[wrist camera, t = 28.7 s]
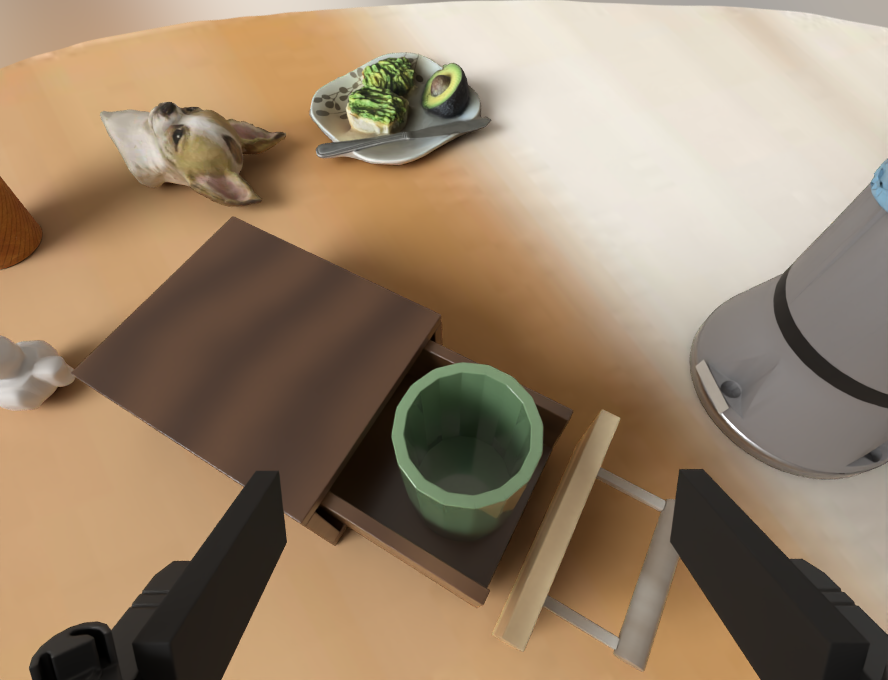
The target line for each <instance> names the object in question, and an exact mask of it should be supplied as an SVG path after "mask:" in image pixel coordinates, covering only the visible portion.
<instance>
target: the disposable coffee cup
mask: <svg viewBox="0 0 888 680" xmlns="http://www.w3.org/2000/svg"><path fill="white" fill-rule="evenodd" d="M41 239H42V229H41V227H40V226H39V224H38V223H37V222H36V221H35V220H34V218H33V217H32V216H31V214H30V213H29V212H28V211H27V209H26V208H25V207H24V206H23V204H22V203H21V202H20V201H19V199H18V198H17V197H16V196H15V194H14V193H13V192H12V191H11V189H10V188H9V187H8V185H7V184H6V183H5V182H4V181H3V179H2V178H1V177H0V269H3V268H7V267H10V266H12V265H15V264H17V263H19V262H21V261H22V260H24V259H25V258H27V257H28V256H29V255H31V254H32V253H33V252H34V250H35V249H36V248H37V247H38V245H39V244H40V241H41Z"/></svg>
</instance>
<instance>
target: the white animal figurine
mask: <svg viewBox="0 0 888 680" xmlns="http://www.w3.org/2000/svg"><path fill="white" fill-rule="evenodd" d="M73 370H74V369H73V368H72V367H70V366H69V365H68V364H66V362H65V360H64V359H63V358H62V357H61V356H59V355H58V353H57V351H56V350H55V349H54V348H53V347H52V346H51V345H50V344H48V343H47V342H45V341H40V340H37V341H23V342H19V343H16V344H15V343H14V342H12V341H11V340H9V339H8V338H6V337H3V336H0V407H2V408H5V409H8V410H13V411H21V410H33V409H37V408H39V407H40V406H41V405H42V403H43V402H44V401H45V400H46V399H47V398H48V397H50V396H51V395H52V394H53V393H54V392H55V390H56V389H57V387H62V386H67V385H69V384H71V383H72V382H73V381H74V380H75V377H74V376H73V375H71V372H72V371H73Z"/></svg>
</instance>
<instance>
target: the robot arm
mask: <svg viewBox="0 0 888 680" xmlns="http://www.w3.org/2000/svg"><path fill="white" fill-rule="evenodd" d="M690 371H691V376H692V381H693V384H694V387H695V390H696V393H697V395H698V397H699V399H700V401H701V403H702V405H703V407H704V408H705V410H706V412H707V413H708V415H709V416H710V417H711V419H712V420H713V421H714V423H715V424H716V425H717V426H718V427H719V428H720V430H721V431H722V432H723V433H724V434H725V435H726V436H727V437H728V438H729V439H730V440H732V441H733V442H734V443H735V444H736V445H738V446H739V447H740V448H741V449H743V450H744V451H746V452H747V453H748V454H750V455H752V456H753V457H755V458H756V459H758V460H760V461H762V462H764V463H766V464H768V465H770V466H772V467H774V468H777V469H779V470H781V471H784V472H787V473H790V474H794V475H798V476H802V477H807V478H813V479H840V478H847V477H851V476H855V475H858V474H861V473H863V472H866V471H869V470H872V469H874V468H877V467H879V466H881V465H883V464H885V463H887V462H888V159H887V160H886V161H884V162H883V163H882V164H881V166H880V167H879V168H878V169H877V170H876V172H875V173H874V177H873V179H872V181H871V183H870V184H869V185H868V186H867V187H866V188H865V189H864V190H863V191H862V192H861V193H860V194H859V195H858V196H857V197H856V199H855V200H854V201H853V202H852V203H851V204H850V205H849V206H848V207H847V208H846V209H845V210H844V211H843V212H842V213H841V214H840V215H839V216H838V217H837V218H836V220H835V221H834V222H833V223H832V224H831V225H830V226H829V227H828V228H827V229H826V230H825V231H824V232H823V233H822V234H821V235H820V236H819V237H818V238H817V239H816V240H815V241H814V242H813V243H812V244H811V245H810V246H809V247H808V248H807V249H806V250H805V251H804V252H803V253H802V254H801V255H800V256H799V257H798V258H797V260H796V261H795V262H794V263H793V264H792V265H791V266H790V267H789V268H788V269H787V270H786V271H785V272H784V273H783V274H781V275H779V276H777V277H775V278H772V279H770V280H768V281H766V282H764V283H762V284H759V285H757V286H755V287H753V288H751V289H749V290H747V291H745V292H743V293H740V294H738V295H736V296H734V297H732V298H731V299H729V300H728V301H726V302H725V303H723V304H722V305H720V306H719V307H718V308H717V309H716V310H715V311H714V312H712V314H711V315H710V316H709V317H708V318H707V320H706V321H705V322H704V323H703V324H702V326H701V327H700V328H699V330H698V332H697V333H696V335H695V338H694V340H693V343H692V347H691V352H690ZM286 543H287V539H286V530H285V520H284V511H283V502H282V493H281V483H280V474H279V471H255V473H254V474H253V476H252V477H251V478H250V480H249V481H248V482H247V484H246V485H245V487H244V488H243V489H242V491H241V492H240V494H239V495H238V496H237V498H236V499H235V500H234V502H233V503H232V505H231V506H230V507H229V509H228V510H227V512H226V513H225V514H224V516H223V517H222V519H221V520H220V521H219V523H218V524H217V525H216V527H215V528H214V530H213V531H212V532H211V534H210V535H209V537H208V538H207V539H206V541H205V542H204V543H203V545H202V546H201V548H200V549H199V550H198V552H197V553H196V555H195V556H194V557H193V559H192V560H191V561H173V562H172V563H170V564H169V565H168V566H166V567H165V568H164V569H162V570H161V571H160V572H158V573H157V574H156V575H155V576H154V577H153V578H152V580H151V581H150V582H149V583H148V585H147V586H146V587H145V588H144V590H143V591H142V594H140V595H139V596H138V597H137V598H136V600H135V601H134V602H133V604H132V607H129V609H128V610H127V611H126V612H125V614H124V615H123V616H122V617H121V619H120V620H119V621H118V623H117V624H116V625H115V626H114V628H113V629H112V630H111V629H110V628H109V627H108V625H107V624H104V623H101V622H87V623H82V624H79V625H76V626H73V627H70V628H68V629H66V630H64V631H62V632H60V633H58V634H57V635H55V636H53V637H52V638H51V639H50V640H48V641H47V642H46V643H45V644H43V645H42V646H41V647H40V648H39V650H38V651H37V652H36V653H35V655H34V656H33V657H32V660H31V663H30V666H29V670H30V673H31V677H32V680H221V679H222V677H223V675H224V673H225V671H226V669H227V667H228V665H229V663H230V660H231V658H232V656H233V654H234V652H235V650H236V648H237V646H238V644H239V642H240V639H241V637H242V635H243V633H244V631H245V629H246V627H247V625H248V623H249V621H250V618H251V616H252V614H253V612H254V610H255V608H256V606H257V604H258V602H259V600H260V598H261V595H262V593H263V591H264V589H265V587H266V585H267V583H268V581H269V579H270V577H271V574H272V572H273V570H274V568H275V566H276V564H277V562H278V560H279V558H280V556H281V553H282V551H283V549H284V547H285V545H286ZM670 543H671V544H672V546H673V547H674V549H675V550H676V552H677V553H678V555H679V556H680V558H681V559H682V561H683V562H684V564H685V565H686V567H687V568H688V570H689V571H690V573H691V575H692V576H693V578H694V579H695V581H696V582H697V584H698V585H699V587H700V588H701V590H702V591H703V593H704V594H705V596H706V597H707V599H708V600H709V602H710V603H711V605H712V606H713V608H714V609H715V611H716V613H717V614H718V616H719V617H720V619H721V620H722V622H723V623H724V625H725V626H726V628H727V629H728V631H729V632H730V634H731V635H732V637H733V638H734V640H735V641H736V643H737V644H738V646H739V647H740V649H741V651H742V652H743V654H744V655H745V657H746V658H747V660H748V661H749V663H750V664H751V666H752V667H753V669H754V670H755V672H756V673H757V675H758V676H759V678H760V679H761V680H888V635H887V634H886V633H885V632H884V631H883V630H882V629H881V628H880V627H879V626H878V625H877V624H876V623H875V622H874V621H873V620H872V619H871V618H870V617H869V616H868V615H867V614H866V613H865V612H864V611H863V610H862V609H861V608H860V607H859V606H856V605H855V603H854V601H853V600H852V599H851V598H850V597H849V596H848V595H847V594H846V593H845V592H841V589H840V588H839V587H838V586H837V585H836V584H835V583H834V582H833V581H832V580H831V579H830V578H829V577H828V576H827V575H826V574H825V573H824V572H822V571H821V570H819V569H818V568H816V567H814V566H813V565H811V564H810V563H808V562H806V561H805V560H803V559H789V558H788V557H787V556H786V555H785V554H784V553H783V552H782V551H781V550H780V549H779V548H778V547H777V546H776V545H775V544H774V543H773V542H772V541H771V540H770V538H769V537H768V536H767V535H766V534H765V533H764V532H763V531H762V530H761V529H760V528H759V527H758V526H757V525H756V524H755V523H754V522H753V521H752V520H751V519H750V518H749V517H748V516H747V515H746V514H745V513H744V511H743V510H742V509H741V508H740V507H739V506H738V505H737V504H736V503H735V502H734V501H733V500H732V499H731V498H730V497H729V496H728V495H727V494H726V493H725V492H724V491H723V490H722V489H721V488H720V487H719V485H718V484H717V483H716V482H715V481H714V480H713V479H712V478H711V477H710V476H709V475H708V474H707V473H706V472H705V471H704V470H703V469H679V476H678V483H677V491H676V499H675V506H674V514H673V521H672V529H671V536H670Z"/></svg>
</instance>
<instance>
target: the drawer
mask: <svg viewBox="0 0 888 680" xmlns="http://www.w3.org/2000/svg"><path fill="white" fill-rule="evenodd" d="M461 362H465V363H474V364H478V363H476V362H474V361H472V360H470V359H468V358H466V357H464V356H462V355H460V354H458V353H455V352H453V351H451V350H449V349H447V348H445V347H443V346H441V345H439V344H437V343H435V342H433V341H431V340H429V341H428V343H427V344H426V346H425V347H424V349H423V350H422V352H421V353H420V355H419V356H418V358H417V359H416V361H415V362H414V364H413V365H412V367H411V368H410V370H409V371H408V373H407V374H406V376H405V377H404V379H403V380H402V382H401V383H400V385H399V386H398V388H397V389H396V391H395V392H394V394H393V395H392V397H391V398H390V400H389V401H388V403H387V404H386V406H385V407H384V409H383V410H382V412H381V413H380V415H379V416H378V418H377V419H376V421H375V422H374V424H373V425H372V427H371V428H370V430H369V431H368V433H367V434H366V436H365V437H364V439H363V440H362V442H361V443H360V445H359V446H358V448H357V449H356V451H355V452H354V454H353V455H352V457H351V458H350V460H349V461H348V463H347V464H346V466H345V467H344V469H343V470H342V472H341V473H340V475H339V476H338V478H337V479H336V481H335V482H334V484H333V485H332V487H331V488H330V490H329V491H328V493H327V494H326V496H325V497H324V499H323V500H322V502H321V503H320V505H319V506H318V508H319V509H321V510H323V511H324V512H326V513H327V514H329V515H330V516H332V517H334V518H335V519H337V520H338V521H340V522H341V523H343V524H345V525H346V526H348V527H349V528H351V529H353V530H354V531H356V532H357V533H359V534H360V535H362V536H364V537H365V538H367V539H368V540H370V541H371V542H373V543H375V544H376V545H378V546H379V547H381V548H383V549H384V550H386V551H387V552H389V553H390V554H392V555H394V556H395V557H397V558H398V559H400V560H401V561H403V562H405V563H406V564H408V565H409V566H411V567H413V568H414V569H416V570H417V571H419V572H420V573H422V574H424V575H425V576H427V577H428V578H430V579H431V580H433V581H435V582H436V583H438V584H439V585H441V586H443V587H444V588H446V589H447V590H449V591H450V592H452V593H454V594H455V595H457V596H458V597H460V598H461V599H463V600H465V601H466V602H468V603H469V604H471V605H472V606H474V607H476V608H478V607H480V606H482V605H484V602H485V600H486V598H487V596H488V594H489V592H490V590H489V589H487V588H488V585H489V583H490V581H491V579H492V577H493V575H494V573H495V570H496V568H497V566H498V564H499V562H500V560H501V558H502V556H503V553H504V551H505V549H506V547H507V545H508V543H509V541H510V539H511V536H512V534H513V532H514V530H515V528H516V526H517V524H518V522H519V519H520V517H521V515H522V513H523V511H524V509H525V507H526V504H527V502H528V500H529V498H530V496H531V494H532V492H533V490H534V487H535V485H536V483H537V481H538V479H539V477H540V475H541V473H542V470H543V468H544V466H545V464H546V462H547V460H548V458H549V456H550V453H551V451H552V449H553V447H554V446H555V444H556V442H557V440H558V439H559V437H560V435H561V434H562V432H563V430H564V429H565V427H566V425H567V423H568V422H569V420H570V418H571V416H572V414H573V410H571V409H569V408H567V407H565V406H563V405H561V404H559V403H557V402H555V401H553V400H551V399H549V398H547V397H545V396H543V395H541V394H539V393H537V392H535V391H533V390H531V389H529V388H527V387H525V386H523V385H521V384H520V385H521V386H522V387H523V388H524V389H525V390H526V391H527V392H528V393H529V394H530V395H531V396H532V398H533V400H534V402H535V405H536V407H537V410H538V412H539V415H540V417H541V420H542V422H543V453H542V456H541V458H540V460H539V462H538V464H537V466H536V469H535V471H534V473H533V475H532V477H531V479H530V481H529V483H528V484H527V486H526V488H525V490H524V492H523V493H522V495H521V497H520V499H519V500H518V502H517V504H516V506H515V508H514V509H513V511H512V513H511V515H510V517H509V518H508V519H507V521H505V523H504V524H503V525H502V526H501V527H500V528H499V529H498V530H496V531H495V532H494V533H492V534H491V535H489V536H487V537H485V538H482V539H480V540H475V541H469V542H458V541H452V540H448V539H445V538H443V537H441V536H439V535H437V534H435V533H434V532H432V531H431V530H430V529H429V528H427V527H426V526H425V525H424V524H423V522H422V521H421V520H420V519H419V517H418V515H417V514H416V512H415V510H414V509H413V507H412V504H411V501H410V498H409V495H408V493H407V490H406V487H405V484H404V481H403V478H402V475H401V472H400V469H399V466H398V463H397V459H396V455H395V450H394V446H393V442H392V435H391V434H392V429H393V423H394V418H395V412H396V409H397V406H398V404H399V403H400V401H401V400H402V398H403V397H404V395H405V394H406V392H407V391H408V389H409V388H410V386H411V385H412V384H413V383H415V382H416V381H418V380H419V379H421V378H422V377H423V376H425V375H426V374H428V373H429V372H430V371H432V370H434V369H436V368H440V367H444V366H448V365H452V364H456V363H461ZM619 421H620V417H617V416H615V415H613V414H611V413H609V412H607V411H605V410H603V409H602V410H601V411H600V412H599V414H598V415H597V416H596V418H595V419H594V421H593V422H592V424H591V425H590V426H589V428H588V429H587V431H586V432H585V433H584V435H583V436H582V438H581V439H580V440H579V442H578V443H577V445H576V447H575V449H574V451H573V453H572V456H571V458H570V460H569V462H568V465H567V467H566V469H565V471H564V474H563V476H562V478H561V480H560V482H559V485H558V487H557V489H556V491H555V494H554V496H553V498H552V500H551V503H550V505H549V507H548V509H547V512H546V514H545V516H544V518H543V520H542V523H541V525H540V527H539V529H538V532H537V534H536V536H535V538H534V541H533V543H532V545H531V547H530V550H529V552H528V554H527V556H526V558H525V561H524V563H523V565H522V567H521V570H520V572H519V574H518V576H517V579H516V581H515V583H514V585H513V587H512V590H511V592H510V594H509V596H508V599H507V601H506V603H505V605H504V608H503V610H502V612H501V614H500V617H499V619H498V621H497V623H496V625H495V628H494V630H493V632H492V635H493V636H494V637H496V638H497V639H499V640H500V641H502V642H503V643H505V644H507V645H508V646H510V647H513V648H515V649H517V650H520V651H522V652H524V651H525V648H526V646H527V643H528V641H529V639H530V636H531V634H532V631H533V629H534V627H535V624H536V622H537V619H538V617H539V614H540V612H541V610H542V607H544V608H546V609H547V610H549V611H551V612H552V613H554V614H556V615H557V616H559V617H561V618H562V619H564V620H565V621H567V622H569V623H570V624H572V625H574V626H575V627H577V628H579V629H580V630H582V631H584V632H585V633H587V634H588V635H590V636H592V637H593V638H595V639H597V640H598V641H600V642H602V643H603V644H605V645H606V646H608V647H610V648H611V649H614V652H613V654H614V655H615V656H616V657H617V658H619V659H620V660H622V661H623V662H625V663H626V664H628V665H630V666H632V667H634V668H635V669H637V670H640V671H642V672H644V671H645V668H646V664H647V661H648V658H649V655H650V651H651V648H652V645H653V642H654V638H655V635H656V632H657V629H658V625H659V622H660V619H661V616H662V612H663V609H664V606H665V603H666V599H667V596H668V593H669V590H670V586H671V583H672V580H673V577H674V574H675V570H676V567H677V564H678V561H679V557H680V556H679V555H678V553H677V552H676V550H675V549H674V547H673V546H672V544H671V543H670V536H671V529H672V521H673V514H674V506H675V500H674V499H666V500H663V499H661V498H659V497H657V496H655V495H653V494H651V493H650V492H648V491H646V490H644V489H642V488H640V487H638V486H636V485H634V484H632V483H630V482H628V481H626V480H624V479H622V478H620V477H618V476H616V475H615V474H613V473H611V472H609V471H607V470H605V469H603V468H601V465H602V462H603V460H604V457H605V455H606V453H607V450H608V448H609V445H610V443H611V441H612V438H613V436H614V433H615V431H616V428H617V426H618V424H619ZM595 479H598V480H600V481H602V482H604V483H606V484H608V485H610V486H612V487H613V488H615V489H617V490H619V491H621V492H623V493H625V494H627V495H629V496H631V497H633V498H635V499H636V500H638V501H640V502H642V503H644V504H646V505H648V506H650V507H652V508H654V509H656V510H657V511H661V513H660V516H659V519H658V522H657V525H656V528H655V531H654V534H653V537H652V540H651V543H650V545H649V548H648V551H647V554H646V557H645V560H644V563H643V566H642V569H641V572H640V575H639V578H638V581H637V584H636V587H635V590H634V593H633V596H632V599H631V602H630V604H629V607H628V610H627V613H626V616H625V619H624V622H623V625H622V628H621V631H620V634H619V637H617V636H615V635H613V634H612V633H610V632H608V631H607V630H605V629H603V628H602V627H600V626H598V625H597V624H595V623H594V622H592V621H590V620H589V619H587V618H585V617H584V616H582V615H580V614H579V613H577V612H575V611H574V610H572V609H570V608H569V607H567V606H565V605H564V604H562V603H560V602H559V601H557V600H555V599H554V598H552V597H550V596H549V595H548V593H549V590H550V588H551V585H552V583H553V581H554V578H555V576H556V573H557V571H558V569H559V566H560V564H561V561H562V559H563V556H564V554H565V552H566V549H567V547H568V544H569V542H570V540H571V537H572V535H573V532H574V530H575V527H576V525H577V523H578V520H579V518H580V515H581V513H582V511H583V508H584V506H585V503H586V501H587V498H588V496H589V494H590V491H591V489H592V486H593V484H594V482H595Z"/></svg>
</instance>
